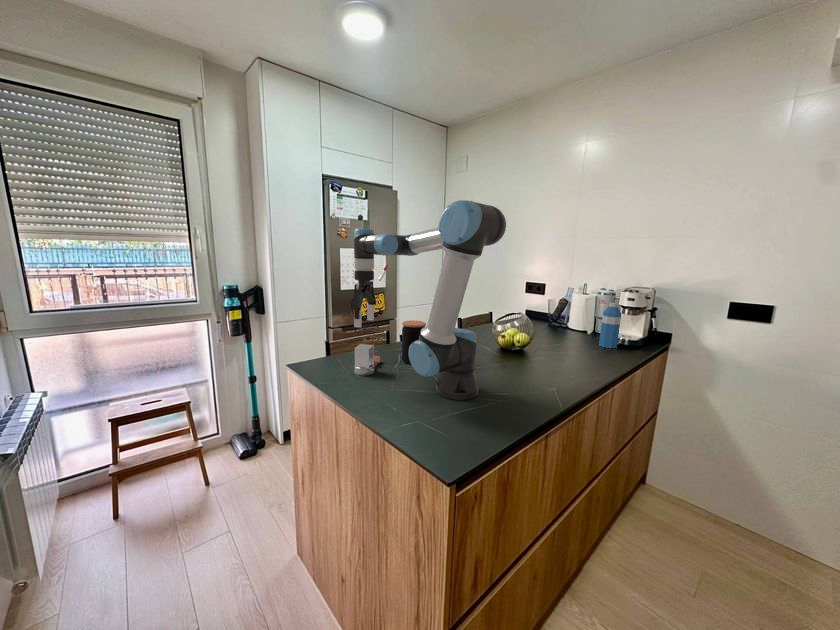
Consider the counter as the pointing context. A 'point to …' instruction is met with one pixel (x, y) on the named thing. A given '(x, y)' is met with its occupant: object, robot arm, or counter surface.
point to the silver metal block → (364, 356)
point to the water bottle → (610, 326)
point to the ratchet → (367, 370)
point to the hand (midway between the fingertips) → (364, 323)
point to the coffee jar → (410, 336)
